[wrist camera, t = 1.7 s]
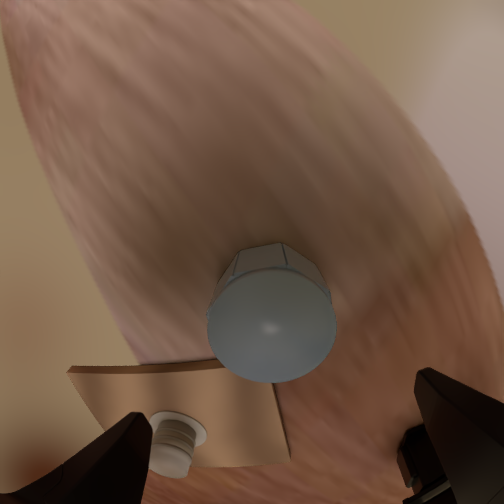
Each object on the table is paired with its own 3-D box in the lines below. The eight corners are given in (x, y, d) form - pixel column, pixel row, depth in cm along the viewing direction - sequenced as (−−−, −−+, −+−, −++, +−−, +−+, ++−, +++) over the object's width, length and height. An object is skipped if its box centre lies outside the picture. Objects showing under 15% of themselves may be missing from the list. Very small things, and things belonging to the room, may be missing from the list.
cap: (311, 236, 15) (329, 261, 11) (324, 326, 17) (340, 370, 12) (210, 256, 16) (191, 287, 12) (233, 341, 17) (225, 389, 13)
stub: (266, 352, 17) (266, 409, 13) (290, 453, 20) (293, 498, 16) (72, 365, 19) (41, 402, 14) (131, 454, 22) (117, 489, 17)
